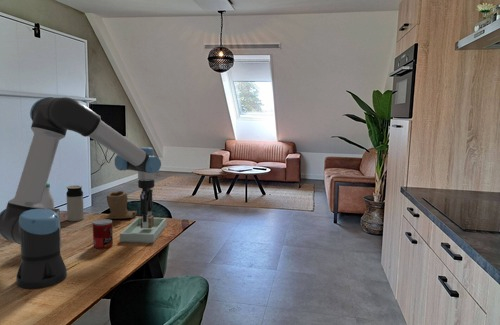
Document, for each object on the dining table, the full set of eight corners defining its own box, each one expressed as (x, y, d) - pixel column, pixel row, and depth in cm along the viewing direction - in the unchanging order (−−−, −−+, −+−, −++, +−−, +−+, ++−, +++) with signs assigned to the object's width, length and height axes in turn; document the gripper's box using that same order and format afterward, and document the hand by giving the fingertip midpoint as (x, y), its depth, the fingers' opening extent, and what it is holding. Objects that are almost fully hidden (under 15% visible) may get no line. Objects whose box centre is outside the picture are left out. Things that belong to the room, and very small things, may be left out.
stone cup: (103, 221, 196) (103, 193, 194) (109, 215, 208) (108, 189, 206) (133, 221, 198) (132, 193, 196) (137, 215, 210) (137, 189, 208)
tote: (153, 243, 165) (153, 234, 165) (119, 242, 165) (119, 233, 165) (166, 225, 191) (166, 218, 191) (137, 225, 191) (137, 217, 190)
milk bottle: (57, 221, 195) (56, 183, 192) (43, 224, 188) (41, 185, 186) (49, 218, 199) (47, 182, 197) (34, 222, 193) (33, 184, 190)
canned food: (106, 250, 156) (105, 224, 154) (89, 248, 157) (88, 223, 156) (116, 243, 163) (115, 219, 162) (100, 242, 165) (99, 218, 163)
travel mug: (83, 220, 197) (82, 187, 194) (66, 222, 194) (65, 188, 191) (84, 216, 204) (83, 184, 202) (68, 218, 201) (66, 185, 199)
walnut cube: (140, 228, 179) (140, 218, 178) (143, 225, 184) (143, 215, 183) (151, 228, 179) (150, 218, 178) (153, 225, 184) (153, 215, 183)
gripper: (149, 182, 169) (149, 232, 172) (158, 176, 187) (159, 221, 190) (132, 182, 169) (133, 231, 172) (143, 176, 187) (144, 220, 190)
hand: (147, 226), depth 181 cm, fingers closed on walnut cube, 5 cm apart
